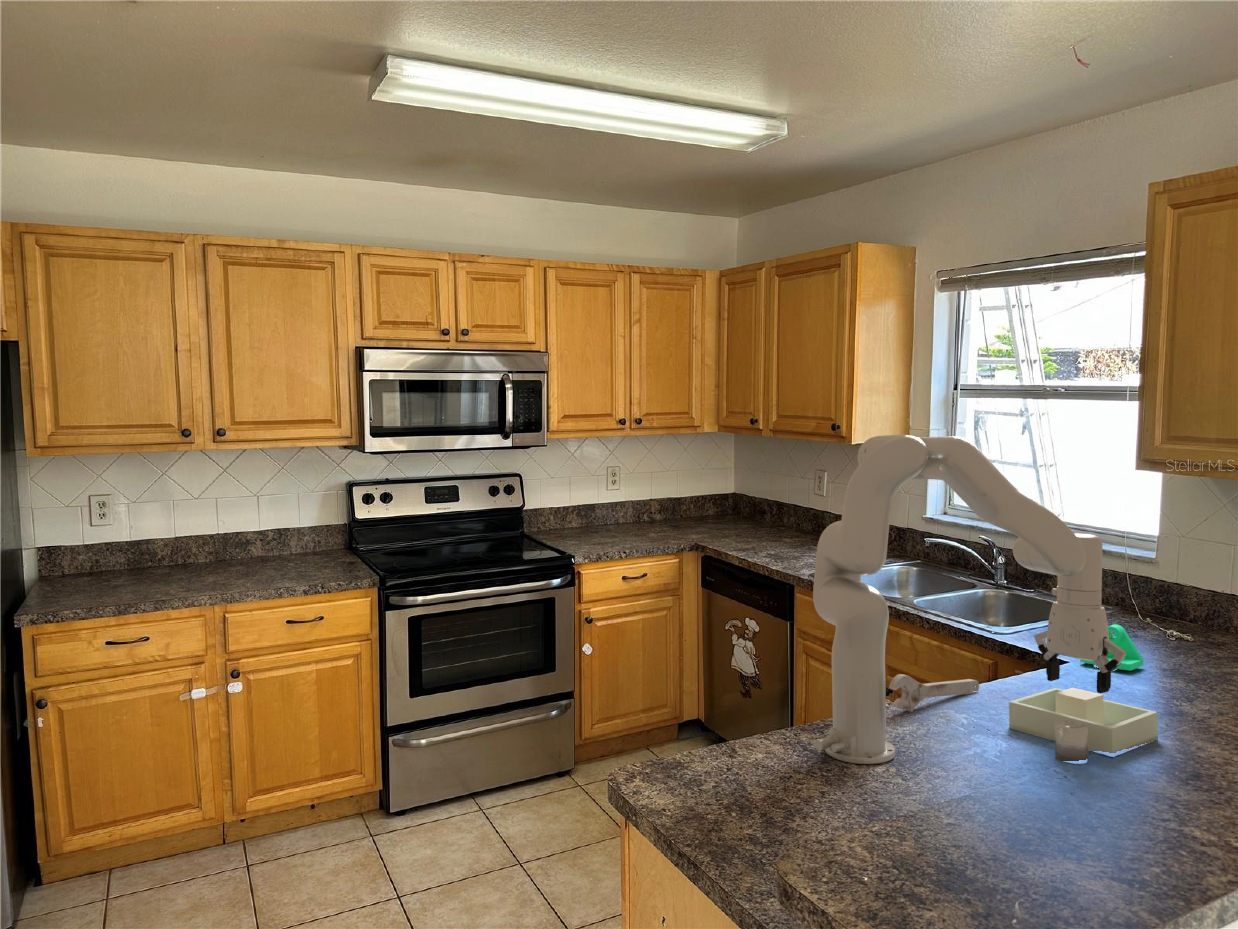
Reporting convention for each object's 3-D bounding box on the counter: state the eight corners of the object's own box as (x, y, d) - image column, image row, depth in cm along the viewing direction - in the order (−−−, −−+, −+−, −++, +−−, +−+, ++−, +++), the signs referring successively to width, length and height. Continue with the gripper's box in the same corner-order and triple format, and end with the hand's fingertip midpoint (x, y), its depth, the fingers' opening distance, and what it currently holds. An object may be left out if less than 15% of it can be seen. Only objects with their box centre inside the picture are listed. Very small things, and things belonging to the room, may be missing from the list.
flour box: (1086, 737, 160) (1086, 700, 160) (1055, 728, 165) (1055, 692, 165) (1103, 730, 163) (1103, 694, 163) (1072, 722, 168) (1072, 687, 168)
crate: (1112, 758, 151) (1112, 728, 151) (1009, 728, 168) (1008, 701, 168) (1157, 739, 160) (1157, 712, 160) (1055, 713, 177) (1054, 687, 177)
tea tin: (1078, 766, 148) (1077, 732, 148) (1049, 757, 152) (1049, 724, 152) (1094, 760, 151) (1093, 726, 150) (1065, 751, 155) (1065, 719, 155)
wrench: (978, 705, 193) (894, 715, 176) (971, 703, 194) (887, 713, 178) (980, 669, 193) (896, 676, 176) (973, 667, 195) (889, 674, 178)
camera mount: (1078, 665, 213) (1078, 625, 213) (1092, 660, 218) (1091, 621, 218) (1130, 675, 204) (1129, 633, 203) (1143, 669, 208) (1143, 628, 208)
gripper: (1025, 592, 169) (1024, 678, 169) (1114, 606, 154) (1113, 700, 154) (1047, 589, 173) (1045, 673, 173) (1136, 603, 158) (1134, 694, 158)
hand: (1077, 686), depth 164 cm, fingers open, 9 cm apart
